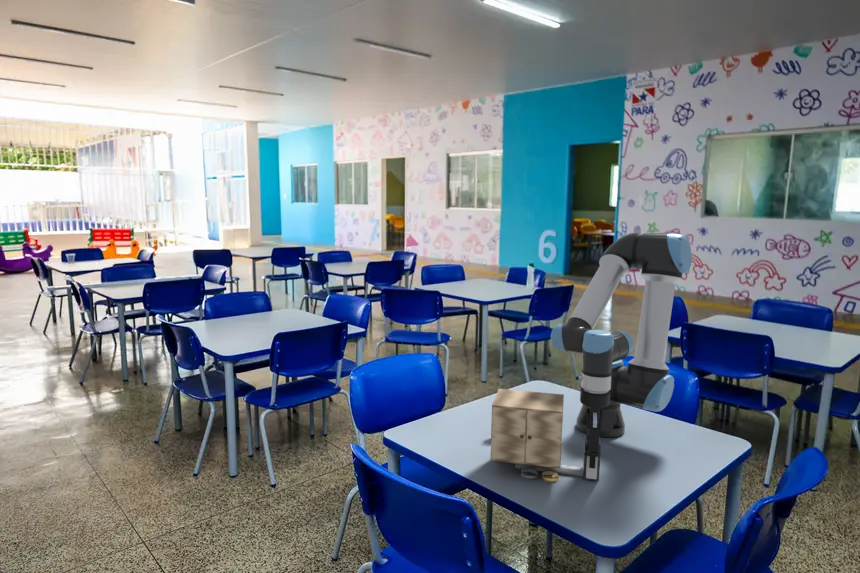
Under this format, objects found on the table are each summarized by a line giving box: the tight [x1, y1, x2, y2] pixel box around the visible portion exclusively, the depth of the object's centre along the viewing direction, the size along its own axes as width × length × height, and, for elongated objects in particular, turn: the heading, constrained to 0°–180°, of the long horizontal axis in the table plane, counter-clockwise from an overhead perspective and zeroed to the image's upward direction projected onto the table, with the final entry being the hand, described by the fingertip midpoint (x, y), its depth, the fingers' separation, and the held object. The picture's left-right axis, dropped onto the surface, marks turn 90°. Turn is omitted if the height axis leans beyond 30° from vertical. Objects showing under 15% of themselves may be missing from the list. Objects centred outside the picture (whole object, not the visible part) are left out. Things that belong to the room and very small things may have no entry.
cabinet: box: [490, 388, 565, 468], centre depth 151 cm, size 18×15×20 cm
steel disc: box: [520, 469, 539, 481], centre depth 150 cm, size 4×4×1 cm
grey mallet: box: [515, 435, 602, 482], centre depth 152 cm, size 22×5×10 cm, turn 76°
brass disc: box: [541, 471, 560, 483], centre depth 148 cm, size 4×4×1 cm
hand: (590, 472), depth 150 cm, fingers open, 6 cm apart
